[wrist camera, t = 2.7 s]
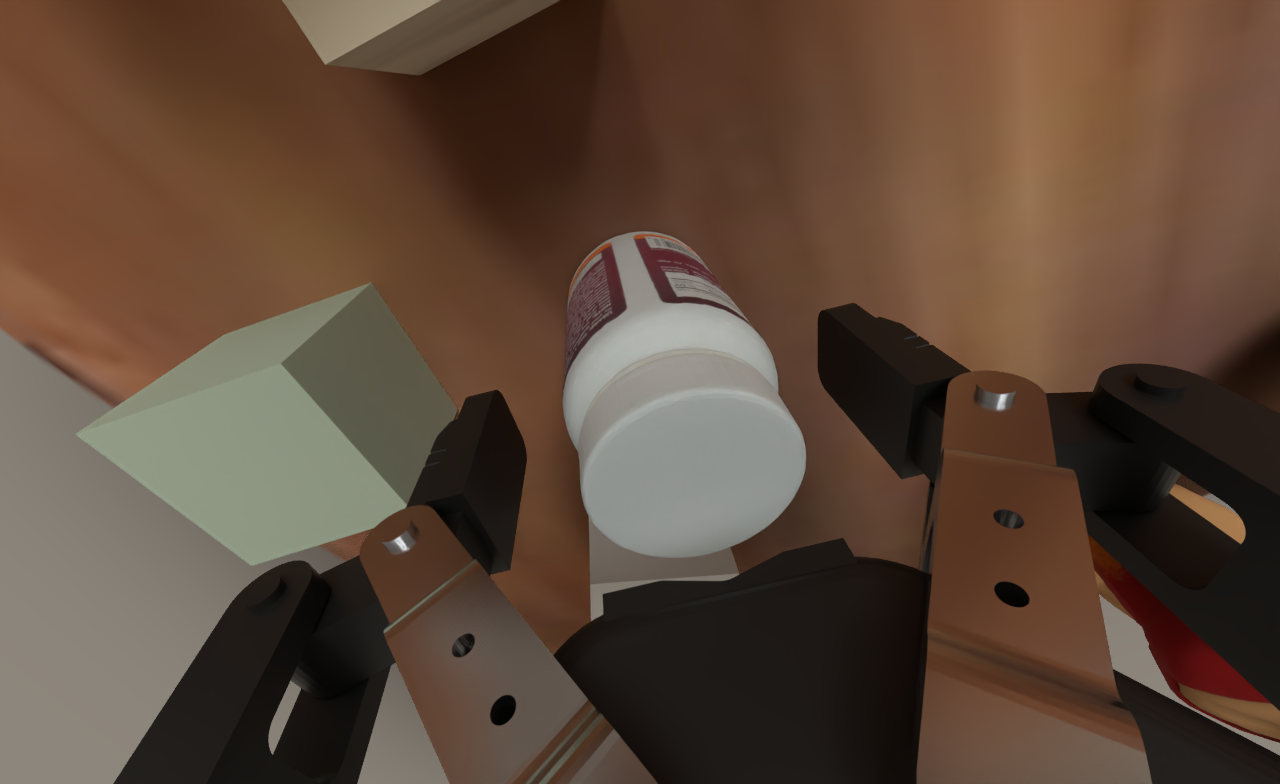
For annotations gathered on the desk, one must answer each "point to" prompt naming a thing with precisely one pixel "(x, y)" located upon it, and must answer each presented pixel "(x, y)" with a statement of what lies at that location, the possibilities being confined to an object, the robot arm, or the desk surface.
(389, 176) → the desk surface
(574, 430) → the pill bottle
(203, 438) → the sage block
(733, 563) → the grey block
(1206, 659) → the action figure
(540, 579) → the desk surface
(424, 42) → the birch block
